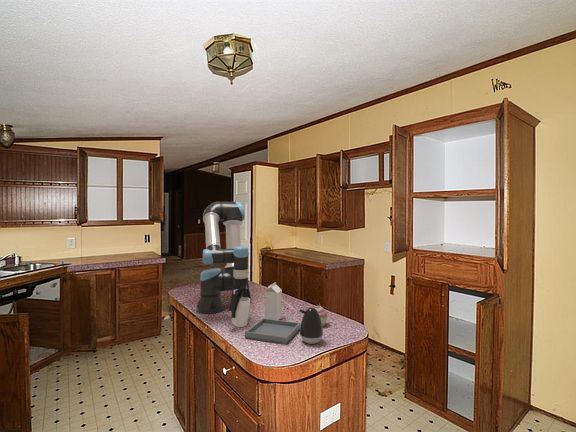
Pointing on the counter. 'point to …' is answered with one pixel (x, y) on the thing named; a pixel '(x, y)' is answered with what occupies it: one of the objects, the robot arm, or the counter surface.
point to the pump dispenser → (311, 326)
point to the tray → (273, 331)
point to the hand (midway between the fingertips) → (240, 319)
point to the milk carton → (273, 302)
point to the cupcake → (322, 314)
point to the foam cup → (243, 312)
